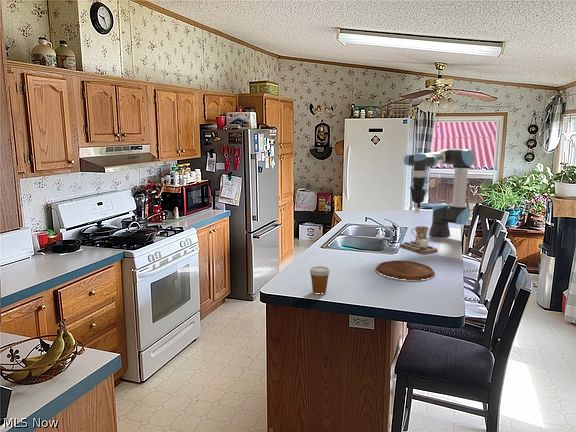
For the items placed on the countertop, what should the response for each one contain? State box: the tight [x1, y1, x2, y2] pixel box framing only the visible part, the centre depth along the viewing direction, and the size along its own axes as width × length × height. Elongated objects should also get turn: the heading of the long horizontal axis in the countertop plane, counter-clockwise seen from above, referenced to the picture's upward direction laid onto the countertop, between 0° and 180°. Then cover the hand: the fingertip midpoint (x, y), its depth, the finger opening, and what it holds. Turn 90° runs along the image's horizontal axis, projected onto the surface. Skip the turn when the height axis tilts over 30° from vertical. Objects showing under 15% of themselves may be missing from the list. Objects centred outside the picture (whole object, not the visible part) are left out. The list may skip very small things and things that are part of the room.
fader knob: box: [420, 238, 429, 248], centre depth 298 cm, size 3×4×5 cm
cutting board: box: [375, 260, 436, 280], centre depth 254 cm, size 32×32×2 cm
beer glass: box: [309, 265, 331, 294], centre depth 219 cm, size 10×10×12 cm
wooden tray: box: [399, 240, 438, 255], centre depth 302 cm, size 22×12×3 cm, turn 29°
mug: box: [411, 225, 430, 243], centre depth 321 cm, size 12×9×11 cm
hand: (416, 212), depth 301 cm, fingers closed
